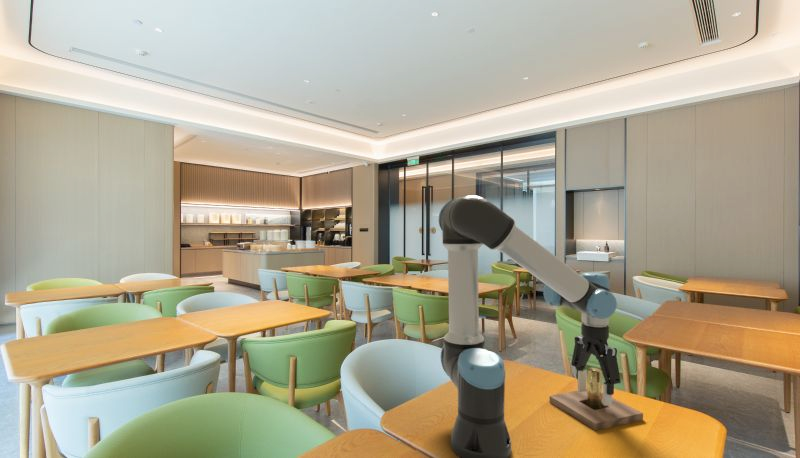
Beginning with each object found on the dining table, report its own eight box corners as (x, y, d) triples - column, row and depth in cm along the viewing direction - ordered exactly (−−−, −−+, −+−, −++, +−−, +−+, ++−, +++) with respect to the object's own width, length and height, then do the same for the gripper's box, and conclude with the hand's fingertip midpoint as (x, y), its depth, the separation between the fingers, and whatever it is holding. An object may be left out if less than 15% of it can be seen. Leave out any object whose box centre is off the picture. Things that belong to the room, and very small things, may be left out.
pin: (594, 413, 114) (595, 373, 114) (584, 407, 118) (584, 368, 117) (604, 410, 115) (605, 371, 115) (593, 405, 119) (594, 366, 119)
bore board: (595, 430, 105) (595, 423, 105) (549, 401, 122) (549, 395, 122) (642, 419, 111) (643, 413, 111) (592, 393, 128) (592, 388, 128)
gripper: (636, 332, 107) (635, 411, 108) (577, 315, 128) (576, 382, 128) (616, 334, 105) (615, 416, 105) (559, 316, 125) (558, 385, 125)
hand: (594, 397), depth 116 cm, fingers open, 9 cm apart
